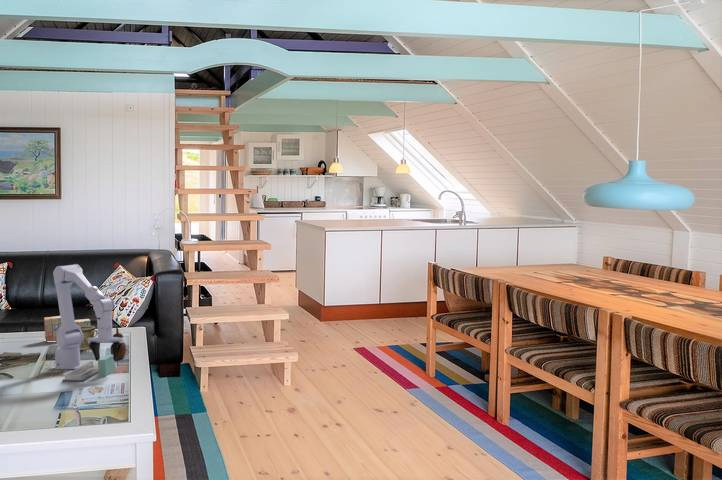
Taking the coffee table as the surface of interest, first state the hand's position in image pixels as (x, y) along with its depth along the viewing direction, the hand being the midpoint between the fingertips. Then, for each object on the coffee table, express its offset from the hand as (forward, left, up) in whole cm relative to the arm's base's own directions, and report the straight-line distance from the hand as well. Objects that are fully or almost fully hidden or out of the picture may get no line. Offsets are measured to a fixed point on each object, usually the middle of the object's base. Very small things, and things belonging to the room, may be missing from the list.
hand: (106, 360), depth 299 cm
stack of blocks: (-50, +65, -6) cm, 82 cm away
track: (-9, -1, -6) cm, 10 cm away
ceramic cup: (-31, +45, -6) cm, 55 cm away
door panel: (0, 0, -6) cm, 6 cm away
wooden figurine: (-7, +26, -6) cm, 27 cm away
